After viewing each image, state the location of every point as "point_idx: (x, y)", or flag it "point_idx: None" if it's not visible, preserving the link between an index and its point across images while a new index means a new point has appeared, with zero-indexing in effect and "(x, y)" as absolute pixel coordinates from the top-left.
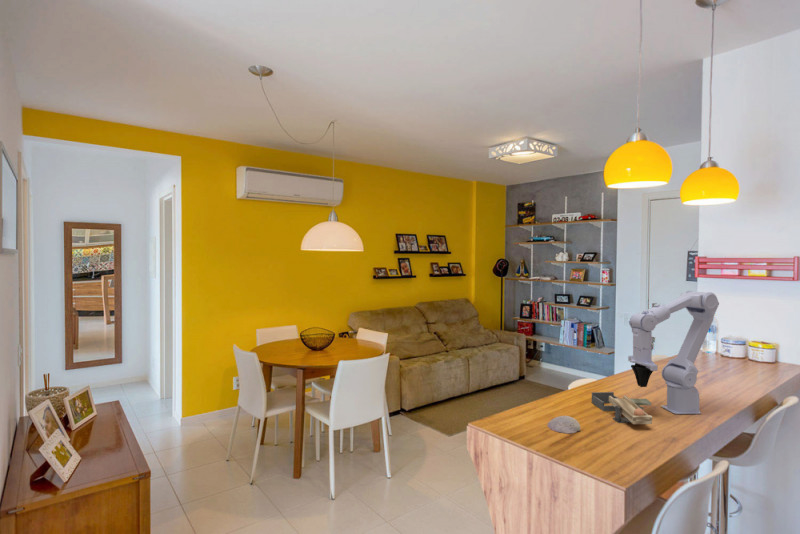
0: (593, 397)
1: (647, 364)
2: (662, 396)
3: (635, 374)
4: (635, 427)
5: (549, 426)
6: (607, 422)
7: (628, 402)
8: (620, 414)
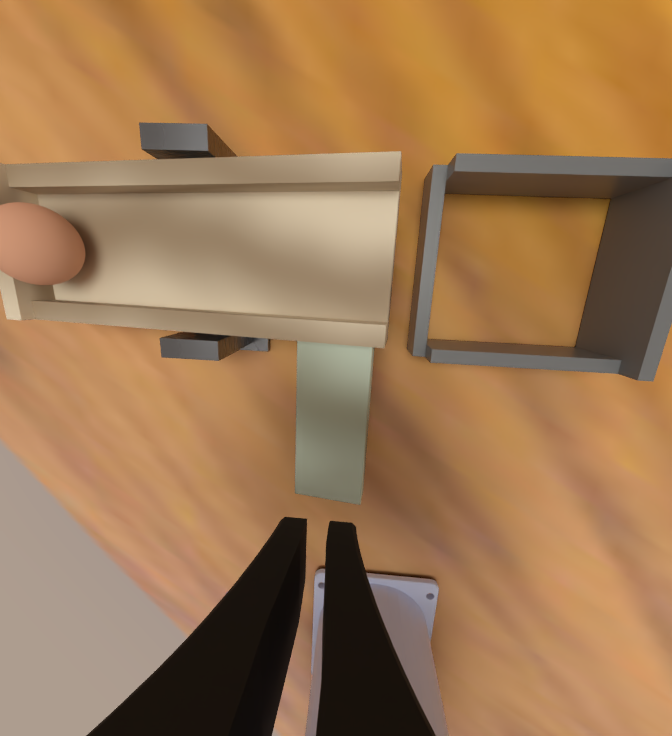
0: (641, 163)
1: None
2: (597, 687)
3: (372, 679)
4: None
5: None
6: (202, 80)
7: (296, 316)
8: None
